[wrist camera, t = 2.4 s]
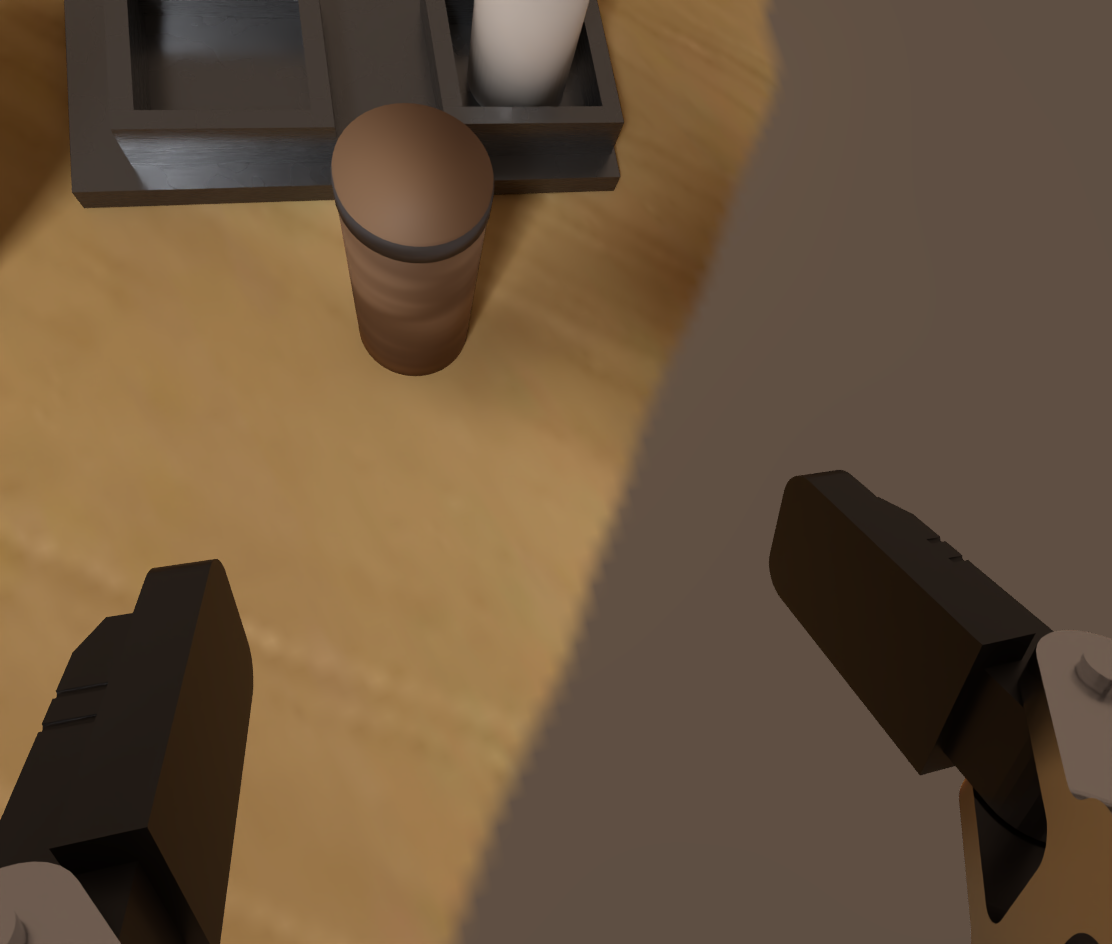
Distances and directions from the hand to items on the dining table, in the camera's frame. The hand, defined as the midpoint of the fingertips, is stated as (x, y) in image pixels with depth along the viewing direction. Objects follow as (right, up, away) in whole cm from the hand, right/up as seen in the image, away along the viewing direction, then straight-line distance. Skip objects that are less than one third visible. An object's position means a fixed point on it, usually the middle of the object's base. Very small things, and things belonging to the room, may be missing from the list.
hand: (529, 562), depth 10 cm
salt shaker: (-1, +19, +21) cm, 29 cm away
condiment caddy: (-8, +18, +21) cm, 29 cm away
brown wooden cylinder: (-6, +7, +19) cm, 21 cm away
